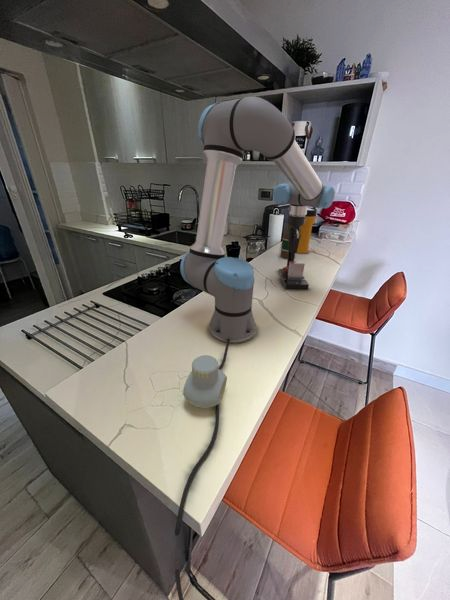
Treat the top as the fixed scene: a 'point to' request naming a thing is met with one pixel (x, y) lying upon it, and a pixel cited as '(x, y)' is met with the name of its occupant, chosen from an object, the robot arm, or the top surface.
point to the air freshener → (205, 383)
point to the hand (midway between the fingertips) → (289, 265)
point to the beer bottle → (285, 243)
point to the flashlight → (306, 230)
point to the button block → (283, 271)
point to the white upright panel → (295, 270)
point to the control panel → (294, 283)
